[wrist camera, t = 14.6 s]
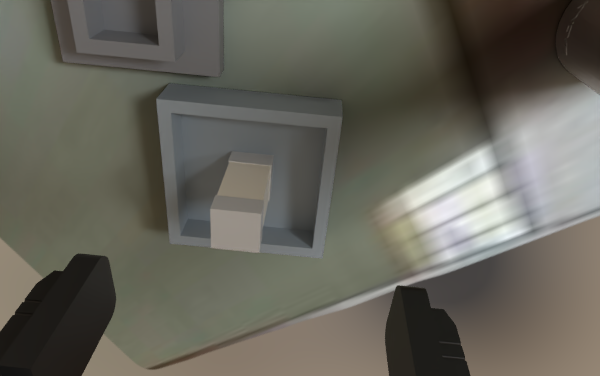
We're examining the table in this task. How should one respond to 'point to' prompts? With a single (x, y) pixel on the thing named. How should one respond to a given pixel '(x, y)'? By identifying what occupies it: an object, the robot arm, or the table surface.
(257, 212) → the block
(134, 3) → the grey stepped block piece
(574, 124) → the table surface
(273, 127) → the parts tray
